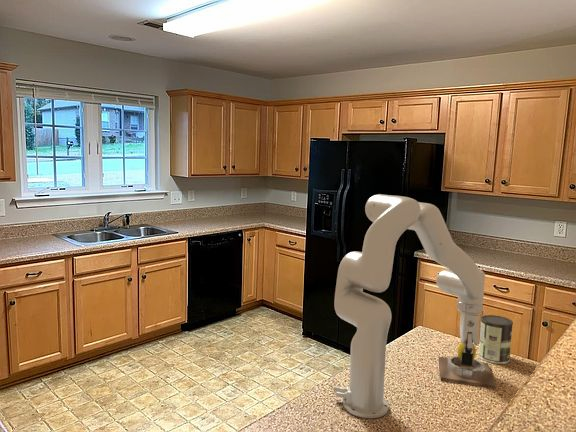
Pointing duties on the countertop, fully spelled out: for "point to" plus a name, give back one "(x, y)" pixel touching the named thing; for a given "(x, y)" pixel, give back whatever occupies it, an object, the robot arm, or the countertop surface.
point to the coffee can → (495, 339)
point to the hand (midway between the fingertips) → (465, 360)
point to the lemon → (460, 350)
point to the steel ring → (465, 372)
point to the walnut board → (450, 377)
